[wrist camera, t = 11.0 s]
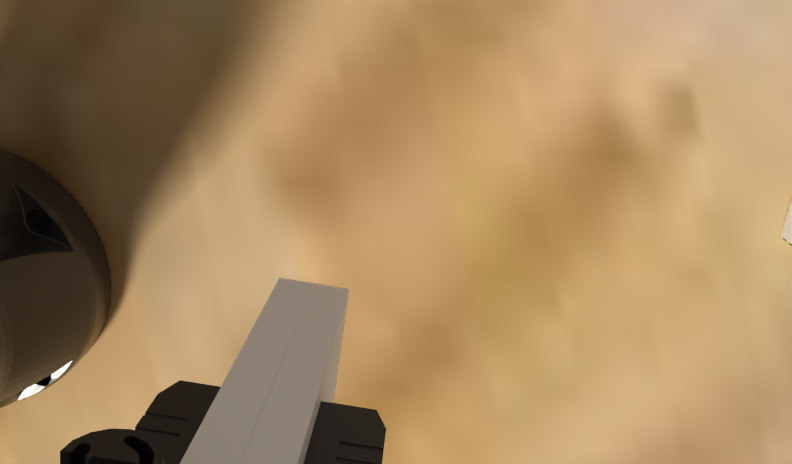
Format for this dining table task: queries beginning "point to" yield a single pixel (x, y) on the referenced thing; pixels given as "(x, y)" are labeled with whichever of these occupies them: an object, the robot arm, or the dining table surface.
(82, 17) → the dining table surface
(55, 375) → the robot arm
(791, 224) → the medicine bottle
